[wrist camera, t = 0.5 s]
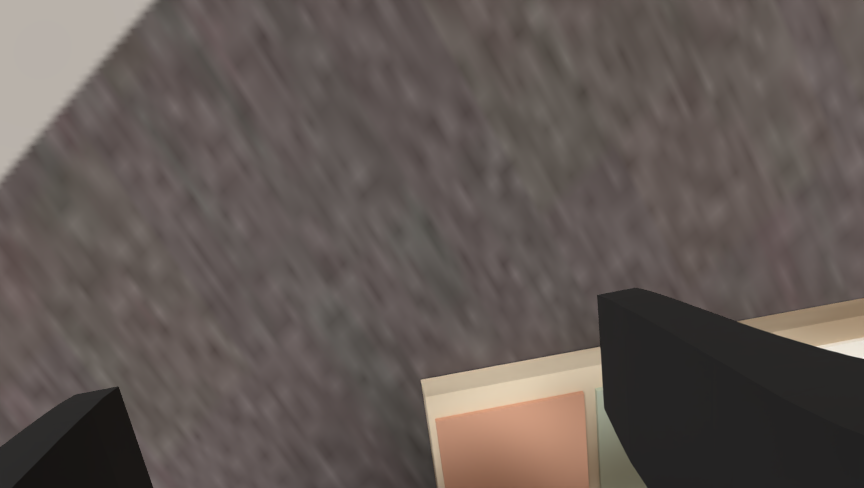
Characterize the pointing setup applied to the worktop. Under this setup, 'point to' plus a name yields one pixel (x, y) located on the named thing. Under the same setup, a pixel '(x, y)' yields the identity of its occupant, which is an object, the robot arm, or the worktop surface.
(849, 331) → the board
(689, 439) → the robot arm
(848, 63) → the worktop surface
